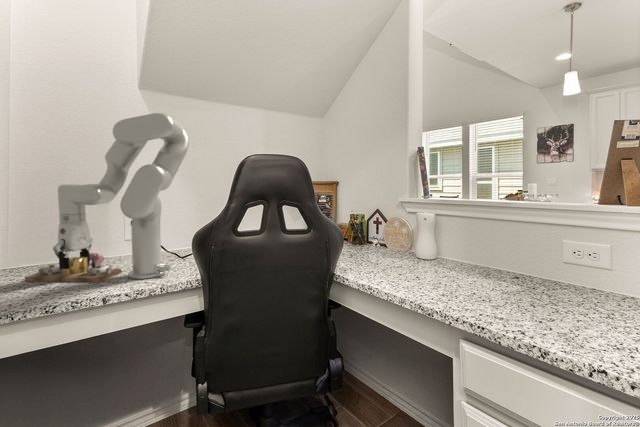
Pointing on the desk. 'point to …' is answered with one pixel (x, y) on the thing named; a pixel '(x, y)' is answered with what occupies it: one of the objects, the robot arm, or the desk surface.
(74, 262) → the brass gear
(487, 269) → the desk surface
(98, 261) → the video game controller
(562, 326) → the desk surface
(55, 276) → the gear board
